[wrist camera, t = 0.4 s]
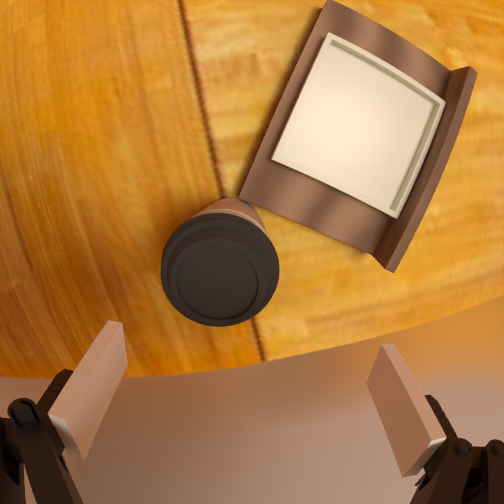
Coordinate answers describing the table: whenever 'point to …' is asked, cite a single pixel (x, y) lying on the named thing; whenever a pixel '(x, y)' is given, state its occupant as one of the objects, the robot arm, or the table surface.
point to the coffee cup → (220, 265)
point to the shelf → (332, 199)
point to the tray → (360, 126)
